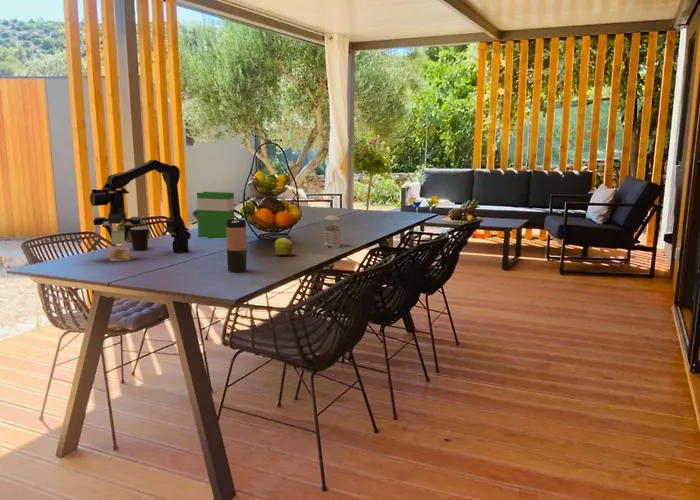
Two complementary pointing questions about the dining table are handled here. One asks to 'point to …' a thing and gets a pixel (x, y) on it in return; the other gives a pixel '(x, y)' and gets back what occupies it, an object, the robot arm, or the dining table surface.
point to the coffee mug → (139, 238)
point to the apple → (283, 246)
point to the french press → (332, 231)
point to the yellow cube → (118, 237)
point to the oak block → (119, 254)
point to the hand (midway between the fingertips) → (119, 240)
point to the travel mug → (236, 245)
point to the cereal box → (214, 213)
